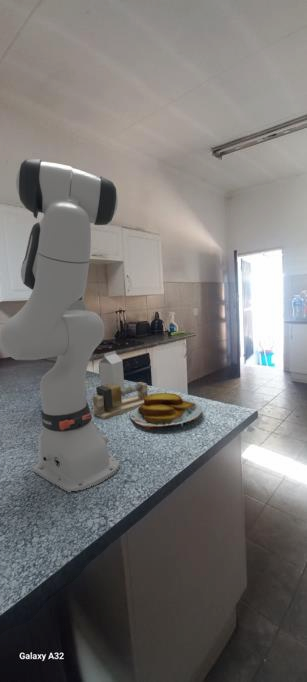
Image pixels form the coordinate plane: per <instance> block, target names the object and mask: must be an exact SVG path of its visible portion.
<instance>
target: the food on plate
mask: <svg viewBox="0 0 307 682" xmlns="http://www.w3.org/2000/svg"><path fill="white" fill-rule="evenodd" d="M202 412H203V406H202V405H201V404H200V403H198V402H196V401H194V400H190V399H185V398H184V399H183V397H182V396H181V395H178V394H175V393H170V392H162V393H161V392H159V393H152V394H150V395H148V396H146V397H145V398H144V403H143V404H142V405H141V406H139V407H138V408H135V409H133V410H131V412H130V413H129V416H130V419H131V420H133V421H134V422H135V424H136V425H139V426H141V427H142V428H143V427H145V428H147V429H146V430H147V432H150V428H156V427H157V428H160V427H161V428H162V427H168V426H170V427H171V426H179V425H181V427H183V426H184V423H185V424H187V422H191V421H192V420H196V419H198V418H199V416H200V415H201V414H202ZM142 417H143V418H142Z"/></svg>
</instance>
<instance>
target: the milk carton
mask: <svg viewBox="0 0 307 682" xmlns="http://www.w3.org/2000/svg"><path fill="white" fill-rule="evenodd" d="M103 355H104V356H103V357H102V359H101V360H100V361H99V362H98V366H99V367H98V368H99V378H100V379H99V380H100V386H102V385H105V384H109V383H113V384H116V385H119V386H121V389H124V388H125V379H124V377H125V375H124V366H123V364H124V363H123V359H122V358H121V357H120V356H119V355H118V354H117V352H116V350H113V351H110V352H107V353H104V354H103Z"/></svg>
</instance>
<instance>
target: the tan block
mask: <svg viewBox="0 0 307 682" xmlns="http://www.w3.org/2000/svg"><path fill="white" fill-rule="evenodd" d="M102 386H105V387H107V388H110V389H111V392H112V404H113V407H115V406H118V405H121V404H122V400H123V399H122V396H121V386H119V385H116V384H113V383H109V384H105V385H102Z"/></svg>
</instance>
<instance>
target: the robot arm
mask: <svg viewBox="0 0 307 682" xmlns="http://www.w3.org/2000/svg"><path fill="white" fill-rule="evenodd" d="M15 180H16V181H15V182H16V183H15V184H16V185H15V186H16V190H17V194H18V196H19V200H20V202H21V203H22V205H23V207H24V208H25V209H26V210H27V211H29V212H31V213H33V214H32V215H33V218H35V219H36V220H37V219H38V215H39V213H40V214H43V217H42V218H41V219H40V220H39V221H38V222H36V223H34V224H33V226H32V227H31V230H30V234H29V238H28V241H27V247H26V251H25V255H24V259H23V261H22V264H21V268H20V278H21V281H22V283H23V285H25V286H26V287H27V288H28V289H30V290H32V292H31V293H30V295H29V298H28V299H27V301H26V302H25V304H24V305H23V306H22V307H21V309H20V310H19V311H17V312H16V314H14V315H12V316H11V317H9V318H8V319H6V321H5V322H4V324H3V325H2V328H1V331H0V343H1V346H2V349H3V350H4V351H5V353H6V354H7V355H8V356H9V357H10V358H11V359H13V360H16V361H38V360H42V359H48V358H52V357H53V358H54V357H57V358H56V361H55V363H54V365H53V367H52V368H51V369H49V370H48V371H47V372H46V373H45V374H44V375H43V376H42V378H41V380H40V382H39V391H40V398H41V407H42V408H41V411H40V412H41V415H40V418H41V419H40V420H41V425H42V429H41V430H42V431H41V432H40V434H39V436H38V437H37V440H38V441H37V442H38V443H37V444H38V458H39V459H38V462H37V464H36V465H35V466H34V469H33V472H34V473H35V474H37V475H39V476H40V477H42V478H43V479H45V480H46V481H49V482H50V483H52V484H53V485H55V484H56V485H57V486H56V485H55V486H56V487H58V486H59V487H60V488H59V487H58V488H59V489H61V488H62V489H61V490H63V489H64V490H66V491H68V492H67V493H69V492H70V493H72V492H71V491H77V492H79V491H78V490H81V491H83V489H84V490H86V488H87V489H90V488H92V487H94V486H96V485H98V484H100V483H102V482H104V481H106V480H107V479H109V478H110V476H111V477H112V476H113V475H114V474H116V473H117V472H118V471H117V470H119V469H120V468H121V467H120V463H119V461H118V460H117V459H116V458H115V456H114V455H113V454H112V453H111V451H109V449H108V448H109V447H108V443H109V438H108V435H107V434H104V433H103V434H101V431H100V427H99V426H98V425H95V422H94V421H93V420H92V418H93V417H92V410H91V408H90V406H89V402H87V391H86V390H87V388H86V387H87V386H86V377H87V376H86V375H87V369H88V365H89V362H90V360H91V357H92V355H93V353H94V351H95V350H96V349H97V347H98V346H99V345H100V344H101V343H102V341H103V340H104V336H105V334H106V333H105V329H106V328H105V324H104V321H103V320H102V317H101V316H100V315H99V314H98V313H96V312H95V311H92V310H91V311H90V310H88V308H87V303H86V302H85V301H84V300H85V296H84V295H85V292H86V290H87V285H88V284H87V282H88V275H89V266H90V258H91V246H92V236H91V235H92V234H91V232H92V230H91V224H93V225H95V226H105V225H108V224H109V223H110V222H112V220H113V218H114V216H115V214H116V212H117V209H118V204H119V203H118V202H119V201H118V194H117V188H116V186H115V184H114V183H113V181H111V180H110V179H107V178H105V177H104V176H101V175H100V176H98V175H95V174H92V173H90V172H87V171H84V170H81V169H78V168H75V167H72V166H71V165H67V164H62V163H58V162H57V163H56V162H51V161H42V159H40V158H25V159H24V161H22V162H21V164H20V167H19V169H18V171H17V174H16V179H15ZM119 467H120V468H119ZM108 477H109V478H108ZM105 479H106V480H105ZM93 485H94V486H93ZM91 486H92V487H91ZM64 490H63V491H64ZM66 491H65V492H66Z"/></svg>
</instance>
